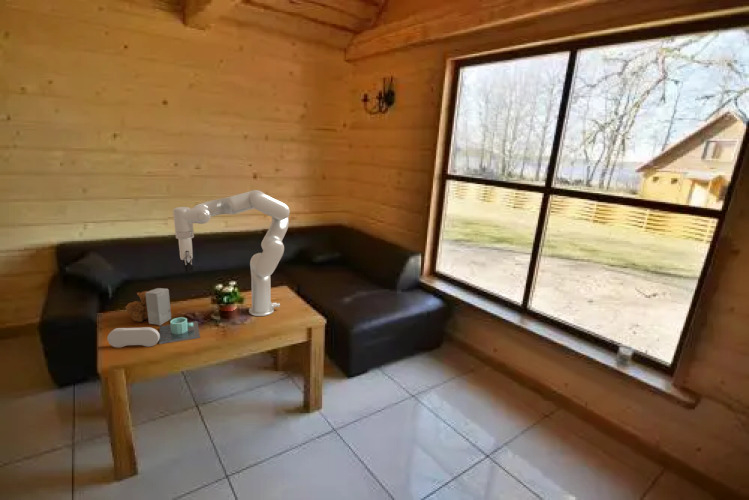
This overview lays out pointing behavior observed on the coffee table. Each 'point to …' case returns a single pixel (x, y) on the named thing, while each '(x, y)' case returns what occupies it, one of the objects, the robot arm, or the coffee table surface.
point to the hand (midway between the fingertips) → (188, 269)
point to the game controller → (133, 337)
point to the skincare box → (158, 306)
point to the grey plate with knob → (170, 337)
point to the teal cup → (180, 325)
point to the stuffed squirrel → (138, 308)
